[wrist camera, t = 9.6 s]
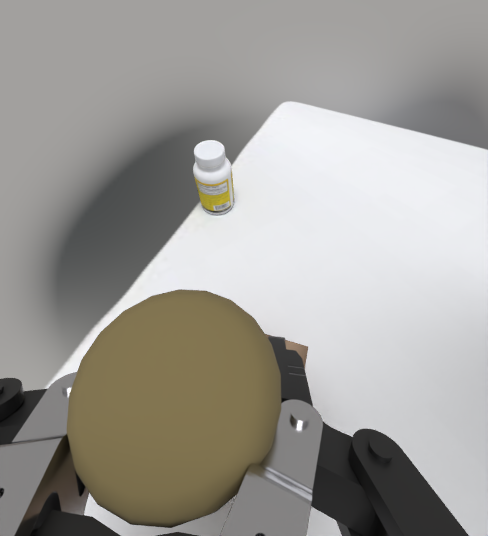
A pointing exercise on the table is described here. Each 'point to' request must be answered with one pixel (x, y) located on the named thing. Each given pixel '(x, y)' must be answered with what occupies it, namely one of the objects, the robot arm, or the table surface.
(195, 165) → the supplement bottle
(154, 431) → the cork
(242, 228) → the table surface
